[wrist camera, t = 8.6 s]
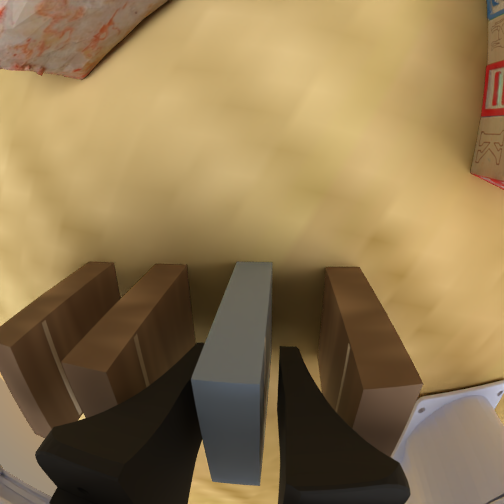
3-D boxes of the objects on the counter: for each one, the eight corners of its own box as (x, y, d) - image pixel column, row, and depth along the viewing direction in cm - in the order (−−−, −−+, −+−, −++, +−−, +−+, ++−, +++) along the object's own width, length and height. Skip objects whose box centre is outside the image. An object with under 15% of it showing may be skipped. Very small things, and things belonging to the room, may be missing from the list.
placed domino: (272, 262, 14) (260, 384, 7) (271, 352, 16) (260, 485, 8) (236, 261, 14) (190, 379, 7) (240, 351, 16) (211, 481, 8)
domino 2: (187, 264, 15) (106, 372, 7) (196, 351, 16) (148, 472, 9) (155, 263, 15) (60, 361, 7) (168, 348, 16) (109, 462, 9)
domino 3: (359, 267, 14) (423, 383, 6) (347, 355, 16) (376, 483, 8) (325, 266, 14) (363, 389, 7) (317, 355, 16) (331, 487, 8)
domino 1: (114, 262, 15) (10, 347, 7) (130, 344, 17) (61, 445, 9) (89, 261, 15) (-15, 338, 8) (107, 341, 17) (35, 433, 9)
